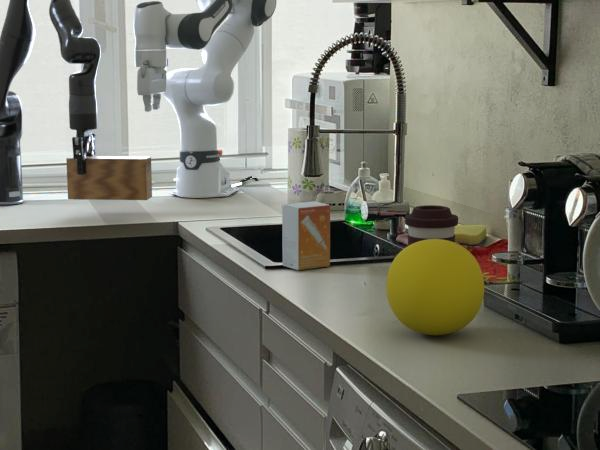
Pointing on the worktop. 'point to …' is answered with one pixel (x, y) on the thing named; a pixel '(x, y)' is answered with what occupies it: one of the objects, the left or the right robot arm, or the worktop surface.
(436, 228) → the coffee cup
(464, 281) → the toy
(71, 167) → the box
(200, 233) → the worktop surface
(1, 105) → the left robot arm
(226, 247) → the worktop surface
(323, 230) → the small box
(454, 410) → the worktop surface
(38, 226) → the worktop surface
